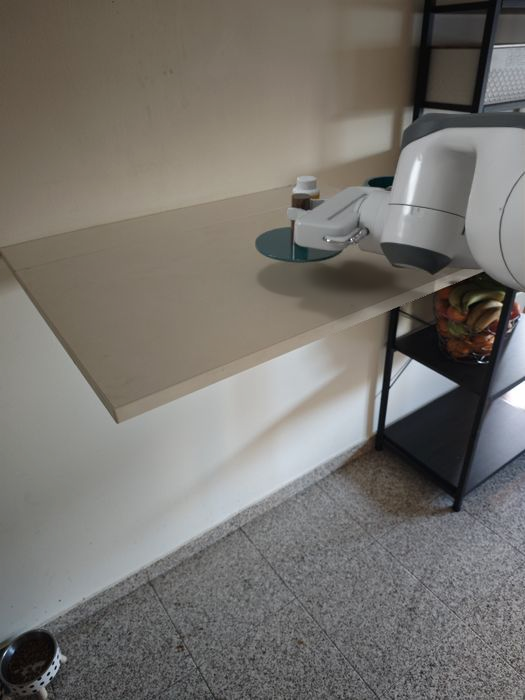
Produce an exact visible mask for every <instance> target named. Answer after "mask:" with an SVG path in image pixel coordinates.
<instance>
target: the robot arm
mask: <svg viewBox="0 0 525 700" xmlns="http://www.w3.org/2000/svg"><path fill="white" fill-rule="evenodd" d="M394 175H395V177H394V181H393V185H392V186H390V187H388V188H386V189H384V188H377V187H364V186H362V185H356V186H348V187H346V188H345V189H343V190H341V191H340V192H338V193H337V194H335V195H333V196H332V197H330V198H329V197H326V198H325V197H323V198H319V199H311V204H310V210H307V211H305V210H303V209H302V207H299V206H292V207H291V206H290V207H288V208H287V210H286V218H287V219H288V220H290V221H291V220H294V221H295V225H294V241H295V243H296V244H298V245H299V246H302V247H308V248H315V249H322V250H331V251H339V250H343V249H344V250H345V249H347V248H348V247H350V245H351V246H355V245H357V246H358V248H359V250H360V251H362V252H366V253H370V254H375V255H379V256H384V257H385V258H386V259H387V261H388V262H389V264H390V265H391V266H392V267H393V268H397V269H408V270H415V271H420V272H424V273H428V274H430V275H432V276H434V275H436V274H437V273H439V272H441V271H442V270H443V269H445V268H448V269H458V270H476V271H477V270H478V271H479V270H482V271H483V272H484V273H485V274H487V275H488V277H490V278H491V279H493V280H494V281H496V282H497V283H499V284H501V285H503V286H505V287H507V288H510V289H512V290H514V291H515V290H516V291H518V292H521V293H523V294H525V112H524V111H490V112H489V111H488V112H474V113H457V112H451V111H436V112H427V113H425V114H422V115H421V116H419V117H418V118H417V119H415V120H413V122H411V123H410V124H409V125H407V127H406V128H405V129H404V130H403V132H402V136H401V142H400V148H399V154H398V161H397V166H396V169H395V174H394ZM344 250H343V251H344Z"/></svg>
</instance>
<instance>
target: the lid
mask: <svg viewBox="0 0 525 700" xmlns="http://www.w3.org/2000/svg"><path fill="white" fill-rule="evenodd" d="M290 201H291V202H290V203H291V204H290V205H291V206H290V207H292V206H299V207H302V209H303V210H305V211H307V210H310V204H311V196H310V195H309V194H305V193H297V194H293V193H292V194H291V200H290ZM294 225H295V221H294V220H290V226H285V227H284V226H283V227H278V228H274V229H270V230H267V231H264V232H263V233H261V234H260V235H259V236H257V237H256V239H255V241H254V247H255V249H256V251H257V252H258V253H259V254H261V255H262V256H264V257H266V258H268V259H271V260H275V261H280V262H285V263H295V264H307V263H310V264H311V263H319V262H323V261H327V260H330V259H331V260H332V259H333V258H335V257H337V256H339V255H340V254H342V253H343V251H344V250H345V249H343V250H339V251H331V250H322V249H315V248H308V247H302V246H299V245H298V244H296V243H295V241H294Z"/></svg>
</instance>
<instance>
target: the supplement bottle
mask: <svg viewBox="0 0 525 700" xmlns="http://www.w3.org/2000/svg"><path fill="white" fill-rule="evenodd" d="M297 193H305V194H309V195H310V196H311V199H320V197H321V196H320V193H321V190H320V188H319V187H318V186H317V177H315V176H312V175H301V176H298V177H297V178H296V186H294V187H293V189H292V195H293V194H297Z"/></svg>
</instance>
